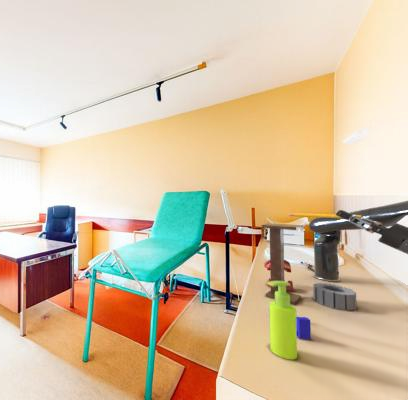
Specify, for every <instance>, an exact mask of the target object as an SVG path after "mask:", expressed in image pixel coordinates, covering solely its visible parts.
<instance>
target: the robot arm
mask: <svg viewBox="0 0 408 400" xmlns="http://www.w3.org/2000/svg"><path fill="white" fill-rule="evenodd" d="M335 214H336V215H337V216H339V217H342V218H323V217H313V218H312V219H311V220H310V221H309V223H308V228H309V230H310V231H311V232H313V233H314V234H316V235H319V237H318V238H316V239H315V240H314V241H313V260H314V261H313V262H314V264H313V265H314V266H313V265H312V264H311V263H309V264H307V265H308V266H307V268H308V269H309V270H310V271H312V272H314V275H313V276H314V278H316V279H318V280H320V281H321V280H322V281H326V282H333V283H335V282H336V283H337V282H340V262H339V245H340V244H341V237H342V231H359V230H360V231H361V230H365V232H368V233H370V234H375V233H376V234H378V235H381V236H380V237H379V238H378V240H377V241H378V242H379V243H381V244H383V245H386V246H388V247H390V248H392V249H395V250H397V251H399V252H401V253H403V254H406V255H408V227H407V226H405V225H402V224H400V223H399V222H401V221H402V220H404V219H406V217H408V200H404V201H399V202H395V203H390V204H384V205H380V206H374V207H368V208H363V209H358V210H353V211H350V212H348V211H346V210H343V209H340V210H337V212H336V213H335ZM352 215H353V216H352ZM356 215H361V218H360V217H357V216H356ZM300 264H304V263H303V262H302V261H300ZM310 264H311V265H310ZM311 267H314V268H311Z"/></svg>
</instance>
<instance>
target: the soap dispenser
mask: <svg viewBox="0 0 408 400" xmlns="http://www.w3.org/2000/svg"><path fill="white" fill-rule="evenodd" d="M287 282H288V281H285V280H284V281H271V282H267V281H266V285H267V284H268V285H270V286H273V287H274V286H278V291H276V292H275V299H274V301H270V302H269V343H270V344H269V348H270V351H271V352H272V353H274V354H275V355H277V356H278V357H280V358H283V359H285V360H296V359H297V358H298V337H297V328H296V317H297V308H296V307H295V305H293V304H290V295H289V294H288V293H286V285H289V283H287Z"/></svg>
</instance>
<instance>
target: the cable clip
mask: <svg viewBox="0 0 408 400" xmlns="http://www.w3.org/2000/svg"><path fill="white" fill-rule="evenodd" d="M311 324H312V323H311V319H310V318H309V317H305V316H296V328H297V339H298V338H299V339H301V340H312V332H311V331H312V327H311V326H312V325H311Z"/></svg>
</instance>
